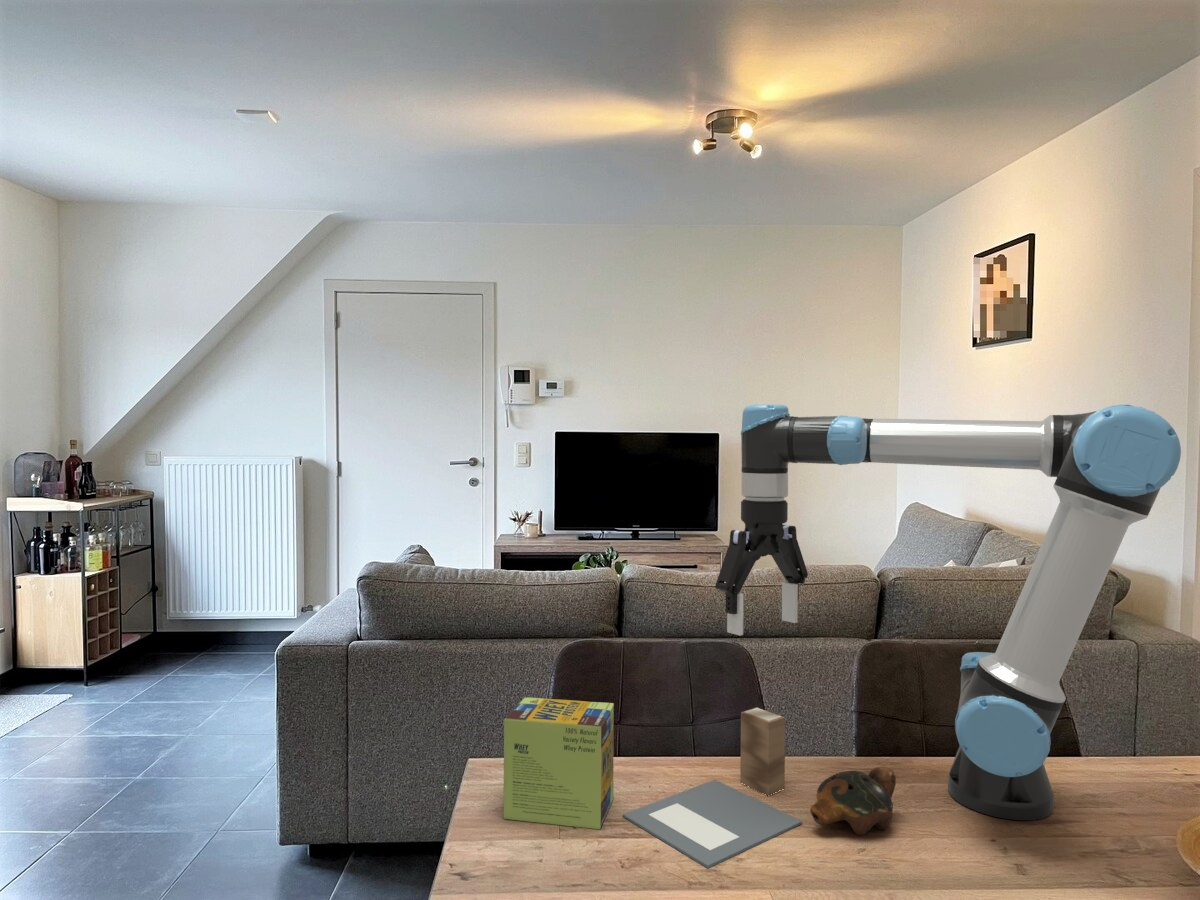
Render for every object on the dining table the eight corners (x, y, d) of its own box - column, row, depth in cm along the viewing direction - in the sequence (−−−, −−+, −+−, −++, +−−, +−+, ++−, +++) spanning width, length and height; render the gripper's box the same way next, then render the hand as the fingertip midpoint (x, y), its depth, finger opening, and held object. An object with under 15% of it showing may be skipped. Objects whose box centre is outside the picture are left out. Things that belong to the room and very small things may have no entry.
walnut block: (784, 789, 130) (785, 716, 129) (768, 796, 127) (769, 722, 127) (756, 777, 134) (756, 706, 134) (740, 783, 132) (740, 711, 132)
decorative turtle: (916, 826, 118) (917, 775, 117) (843, 859, 110) (843, 804, 110) (865, 796, 126) (865, 748, 125) (794, 825, 119) (794, 774, 118)
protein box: (602, 830, 116) (602, 726, 116) (502, 820, 119) (502, 718, 119) (615, 798, 126) (615, 702, 126) (522, 789, 129) (522, 695, 129)
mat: (802, 823, 118) (802, 820, 118) (707, 868, 106) (707, 865, 106) (714, 781, 132) (714, 779, 132) (622, 816, 120) (622, 813, 120)
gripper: (793, 493, 140) (792, 612, 141) (693, 500, 125) (693, 634, 125) (829, 496, 134) (828, 620, 135) (729, 504, 119) (728, 644, 119)
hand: (763, 627), depth 130 cm, fingers open, 13 cm apart
